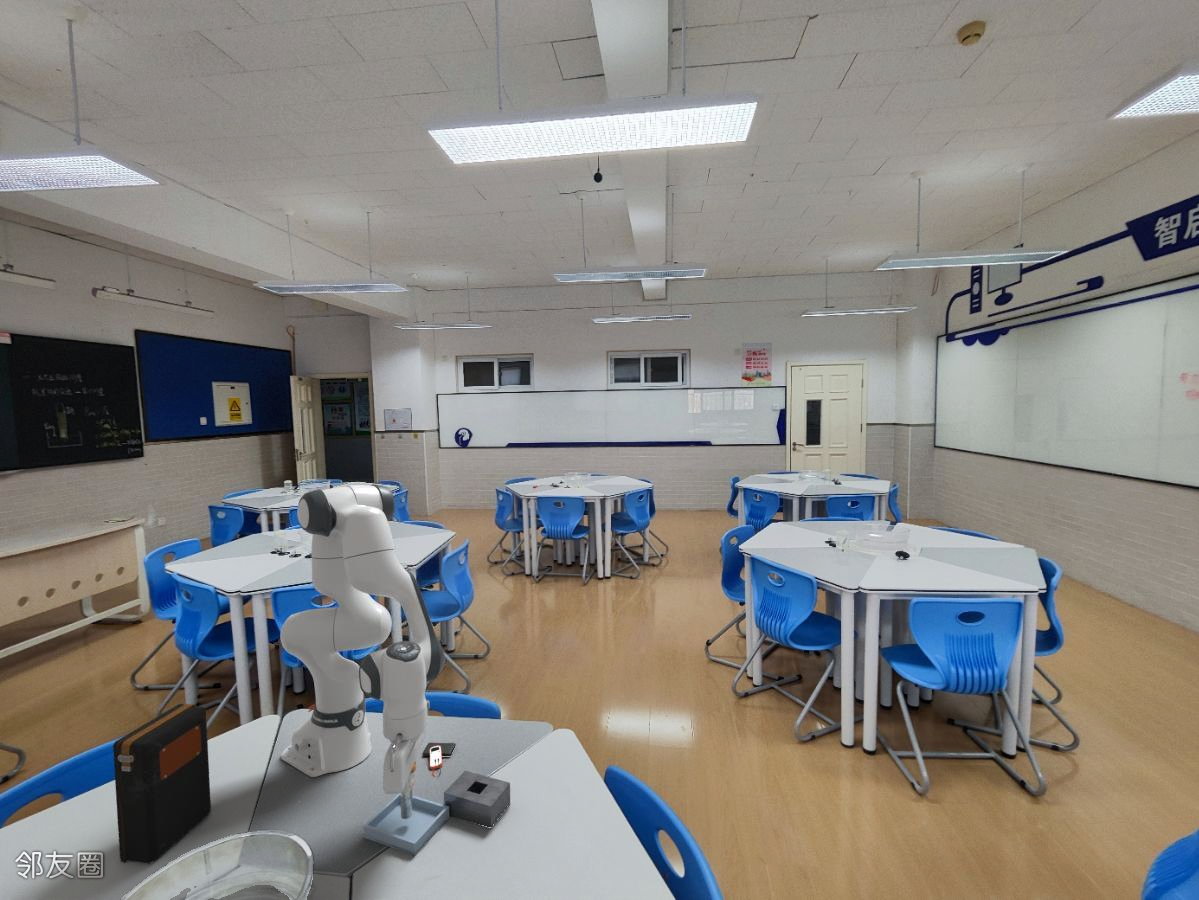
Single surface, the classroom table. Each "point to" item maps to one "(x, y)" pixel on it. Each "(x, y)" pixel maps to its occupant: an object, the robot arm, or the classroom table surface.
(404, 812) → the pin
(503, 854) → the classroom table surface
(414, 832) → the tray
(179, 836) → the black case
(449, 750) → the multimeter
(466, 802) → the block
